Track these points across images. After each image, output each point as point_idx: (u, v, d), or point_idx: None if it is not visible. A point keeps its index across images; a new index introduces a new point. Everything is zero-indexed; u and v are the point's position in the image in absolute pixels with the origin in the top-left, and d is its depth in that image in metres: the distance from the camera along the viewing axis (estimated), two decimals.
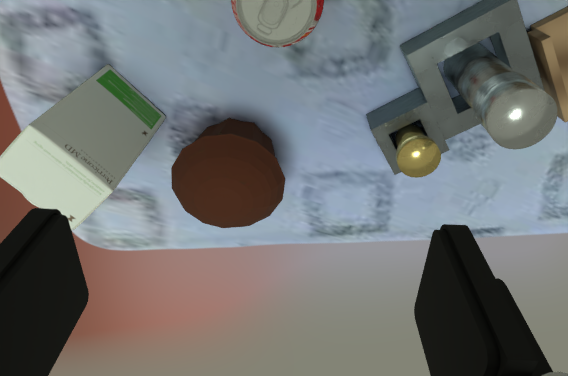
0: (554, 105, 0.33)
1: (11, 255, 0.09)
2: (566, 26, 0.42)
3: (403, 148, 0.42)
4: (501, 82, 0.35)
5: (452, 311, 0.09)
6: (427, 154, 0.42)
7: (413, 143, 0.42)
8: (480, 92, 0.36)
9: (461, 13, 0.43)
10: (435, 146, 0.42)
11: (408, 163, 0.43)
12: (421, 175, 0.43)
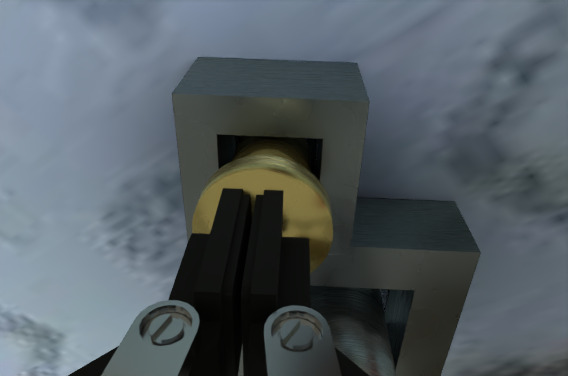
0: None
1: (229, 228, 0.10)
2: None
3: (326, 212, 0.12)
4: None
5: None
6: None
7: (324, 241, 0.13)
8: None
9: None
10: None
11: None
12: (198, 218, 0.13)
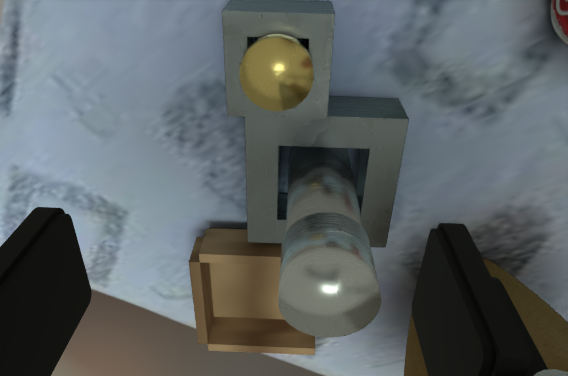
0: (326, 335, 0.22)
1: (15, 254, 0.09)
2: None
3: (309, 61, 0.24)
4: None
5: (448, 309, 0.09)
6: (277, 91, 0.25)
7: (309, 80, 0.24)
8: (364, 235, 0.23)
9: None
10: (285, 108, 0.25)
11: (277, 57, 0.24)
12: (243, 66, 0.24)
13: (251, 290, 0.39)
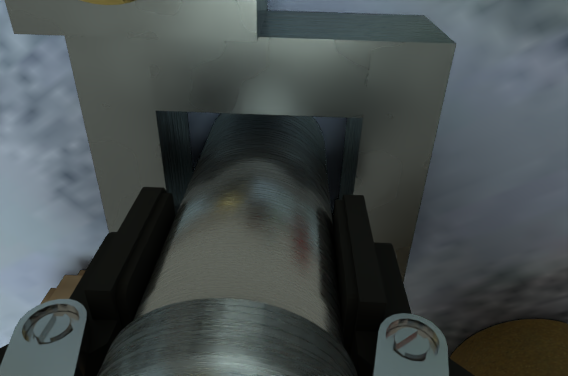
0: None
1: (138, 226, 0.10)
2: None
3: None
4: None
5: (338, 269, 0.10)
6: None
7: None
8: (340, 371, 0.07)
9: None
10: None
11: None
12: None
13: None
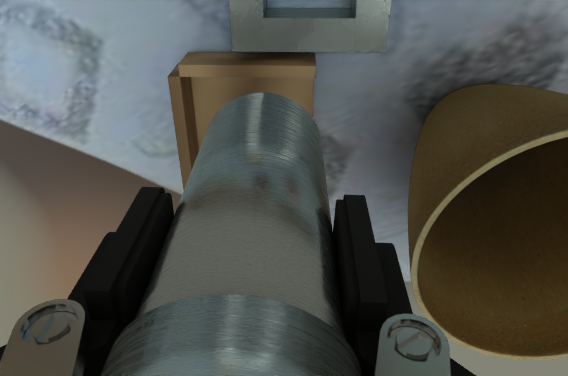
0: None
1: (137, 226, 0.10)
2: (297, 96, 0.34)
3: None
4: None
5: (339, 269, 0.10)
6: None
7: None
8: (345, 365, 0.07)
9: None
10: None
11: None
12: None
13: None
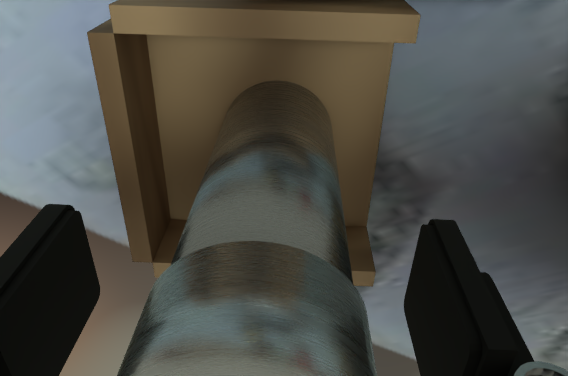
0: None
1: (27, 250, 0.10)
2: (356, 87, 0.17)
3: None
4: None
5: (438, 304, 0.10)
6: None
7: None
8: (353, 303, 0.09)
9: None
10: None
11: None
12: None
13: None
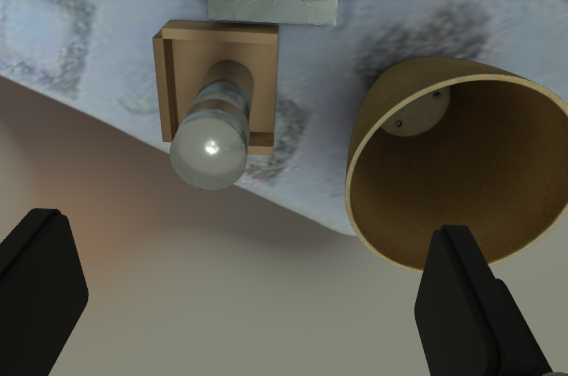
0: (210, 188, 0.30)
1: (11, 255, 0.09)
2: (263, 63, 0.39)
3: None
4: (248, 142, 0.31)
5: (452, 311, 0.09)
6: None
7: None
8: (242, 116, 0.31)
9: None
10: None
11: None
12: None
13: None
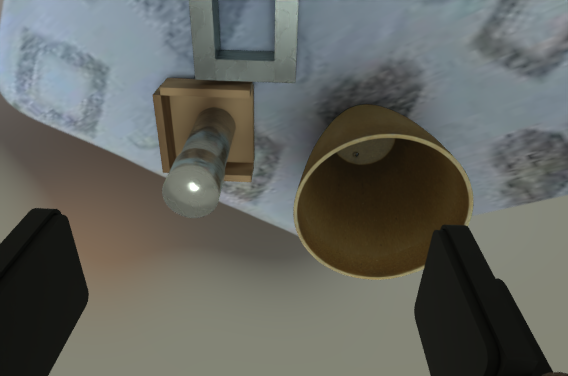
0: (193, 216, 0.40)
1: (11, 255, 0.09)
2: (241, 109, 0.49)
3: None
4: (222, 181, 0.40)
5: (452, 311, 0.09)
6: None
7: None
8: (218, 161, 0.40)
9: None
10: None
11: None
12: None
13: None
